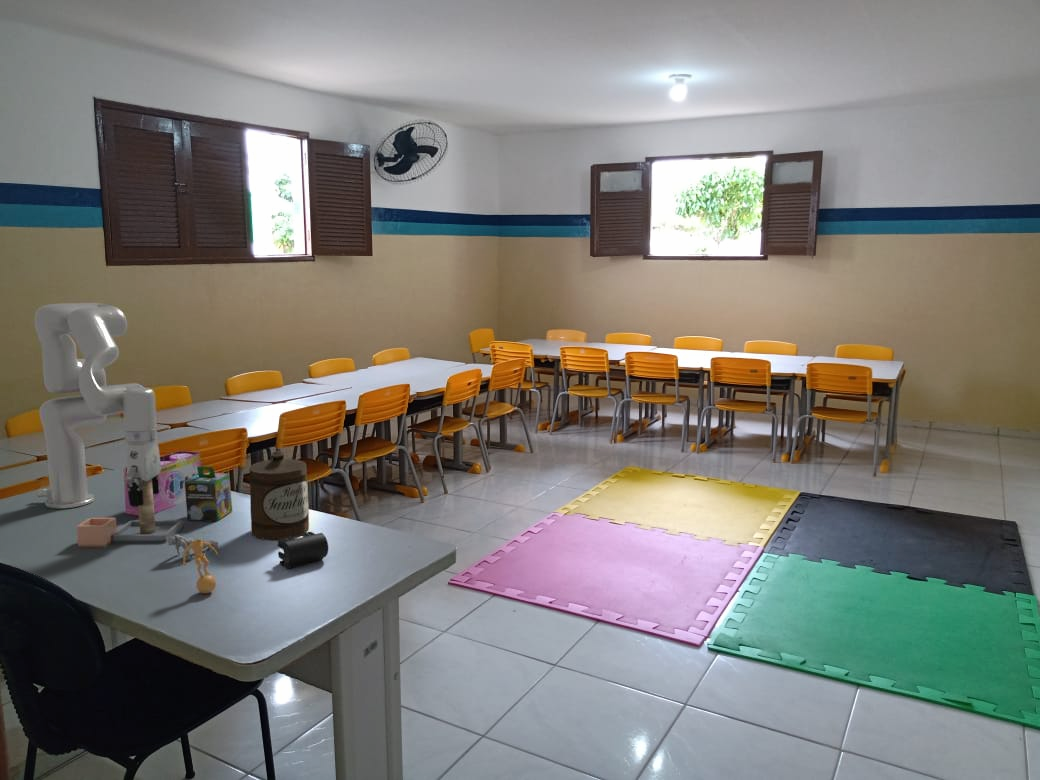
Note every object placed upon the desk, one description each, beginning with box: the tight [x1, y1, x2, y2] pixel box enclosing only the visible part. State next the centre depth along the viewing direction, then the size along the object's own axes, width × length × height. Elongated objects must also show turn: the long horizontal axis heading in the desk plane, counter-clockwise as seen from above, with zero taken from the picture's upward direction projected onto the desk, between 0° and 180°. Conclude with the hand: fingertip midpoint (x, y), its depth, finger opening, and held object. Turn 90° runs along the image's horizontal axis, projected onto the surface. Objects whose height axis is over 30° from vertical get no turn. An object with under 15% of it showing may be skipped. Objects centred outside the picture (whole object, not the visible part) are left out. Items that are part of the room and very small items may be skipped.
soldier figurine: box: [167, 533, 219, 562], centre depth 190 cm, size 6×5×12 cm
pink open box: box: [76, 517, 118, 548], centre depth 198 cm, size 7×7×6 cm
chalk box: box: [185, 465, 233, 522], centre depth 219 cm, size 9×9×15 cm
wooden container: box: [248, 450, 310, 541], centre depth 207 cm, size 15×15×22 cm
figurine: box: [182, 538, 219, 594], centre depth 169 cm, size 8×6×12 cm
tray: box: [110, 519, 185, 544], centre depth 205 cm, size 14×12×2 cm
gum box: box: [123, 450, 202, 516], centre depth 229 cm, size 24×8×14 cm, turn 161°
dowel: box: [137, 479, 156, 534], centre depth 204 cm, size 4×4×15 cm
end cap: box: [277, 531, 329, 569], centre depth 186 cm, size 10×7×7 cm
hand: (144, 499), depth 204 cm, fingers open, 9 cm apart
